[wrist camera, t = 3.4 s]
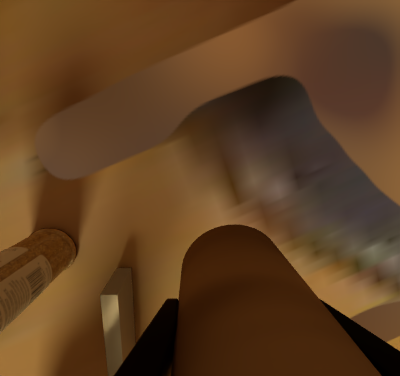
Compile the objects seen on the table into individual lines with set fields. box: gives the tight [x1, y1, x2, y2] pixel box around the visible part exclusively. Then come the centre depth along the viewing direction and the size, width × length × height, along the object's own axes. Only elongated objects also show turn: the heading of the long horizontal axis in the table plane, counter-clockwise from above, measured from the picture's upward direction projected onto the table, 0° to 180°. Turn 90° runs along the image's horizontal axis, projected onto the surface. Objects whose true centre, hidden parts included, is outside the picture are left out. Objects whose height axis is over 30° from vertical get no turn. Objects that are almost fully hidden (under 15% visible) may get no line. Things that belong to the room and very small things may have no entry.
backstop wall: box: [100, 268, 136, 376], centre depth 18 cm, size 11×1×4 cm, turn 178°
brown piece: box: [171, 225, 382, 376], centre depth 6 cm, size 5×5×7 cm
